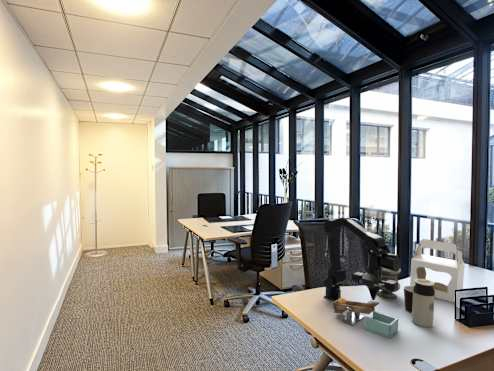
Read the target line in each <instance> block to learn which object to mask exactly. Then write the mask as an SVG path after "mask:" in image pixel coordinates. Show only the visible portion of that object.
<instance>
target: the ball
mask: <svg viewBox="0 0 494 371" xmlns="http://www.w3.org/2000/svg"><path fill="white" fill-rule="evenodd" d="M338 303H339V304H345V305H346V299H345V298H344V297H341V298H339V299H338Z"/></svg>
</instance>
